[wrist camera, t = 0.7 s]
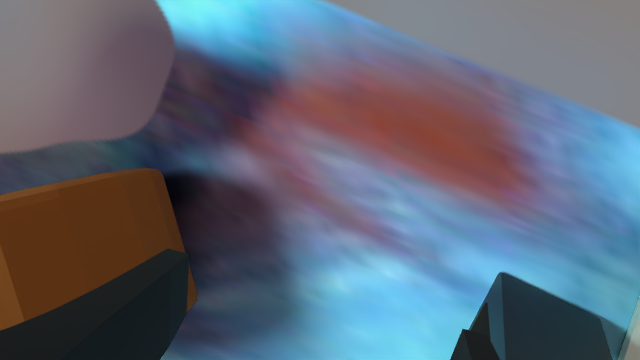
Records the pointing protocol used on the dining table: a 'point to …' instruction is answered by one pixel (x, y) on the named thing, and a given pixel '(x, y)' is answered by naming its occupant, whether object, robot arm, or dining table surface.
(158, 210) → the orange tape measure
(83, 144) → the dining table surface
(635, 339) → the mat
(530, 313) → the phone stand
